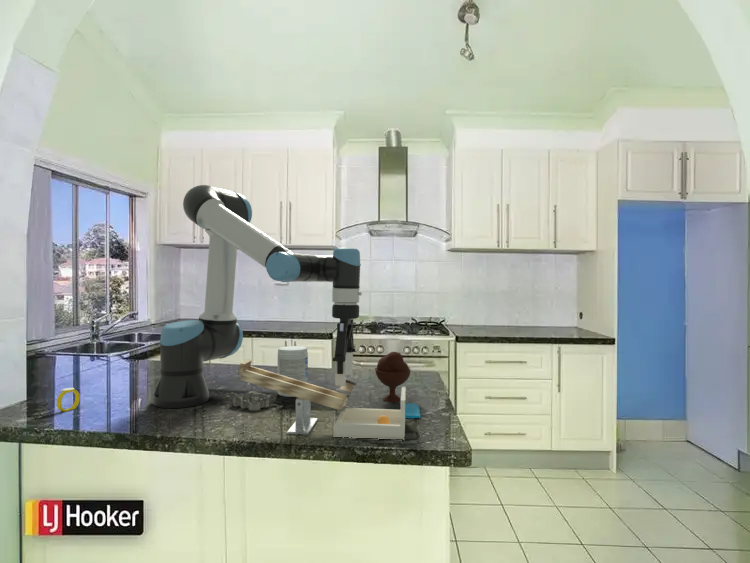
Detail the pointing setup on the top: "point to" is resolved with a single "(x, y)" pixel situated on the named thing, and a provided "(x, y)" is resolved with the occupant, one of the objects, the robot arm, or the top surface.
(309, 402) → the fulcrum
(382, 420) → the ball
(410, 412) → the sponge
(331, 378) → the top surface
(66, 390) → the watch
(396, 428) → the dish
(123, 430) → the top surface
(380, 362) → the ice cream bowl
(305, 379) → the supplement tub
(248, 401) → the egg carton
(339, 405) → the beige angled channel
